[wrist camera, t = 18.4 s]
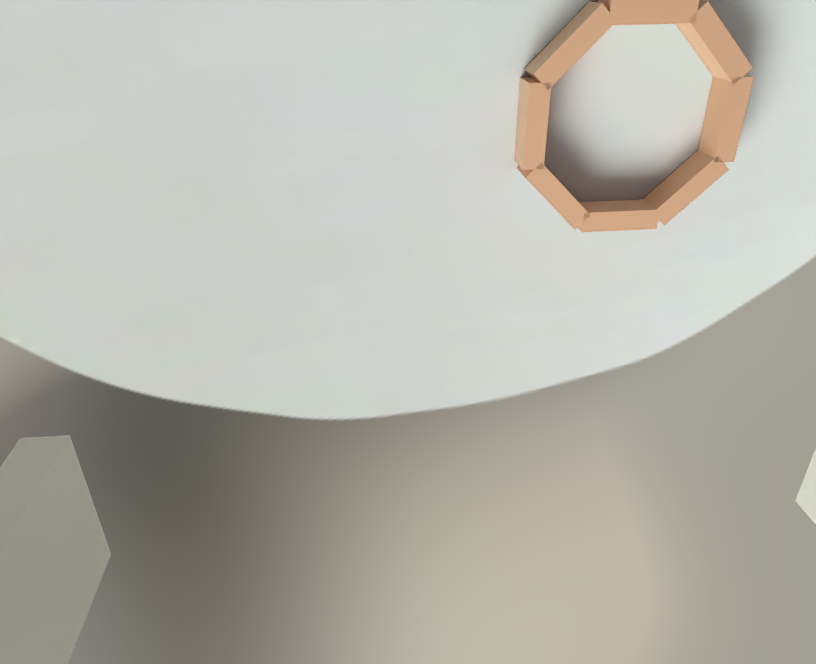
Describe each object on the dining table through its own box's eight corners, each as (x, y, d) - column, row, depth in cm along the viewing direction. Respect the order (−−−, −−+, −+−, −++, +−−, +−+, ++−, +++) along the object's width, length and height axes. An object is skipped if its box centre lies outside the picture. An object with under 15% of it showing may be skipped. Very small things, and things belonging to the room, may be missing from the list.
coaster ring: (525, -2, 34) (535, 0, 32) (751, -6, 34) (773, -5, 33) (510, 223, 40) (517, 235, 38) (702, 215, 41) (718, 225, 39)
